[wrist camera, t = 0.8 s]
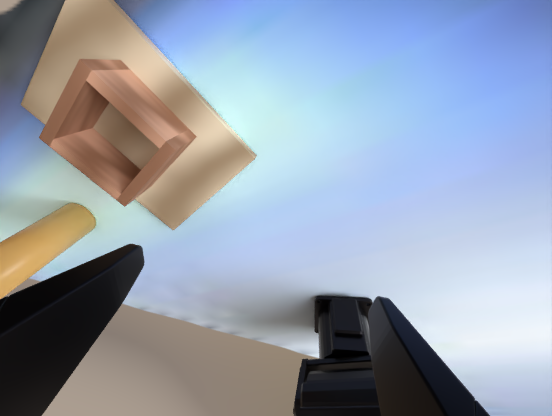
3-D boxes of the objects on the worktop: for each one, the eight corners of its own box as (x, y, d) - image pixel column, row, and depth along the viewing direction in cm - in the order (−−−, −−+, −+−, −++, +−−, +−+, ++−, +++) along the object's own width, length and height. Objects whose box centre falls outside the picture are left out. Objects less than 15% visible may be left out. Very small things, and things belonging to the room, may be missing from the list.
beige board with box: (256, 155, 21) (244, 176, 17) (176, 226, 26) (153, 254, 22) (88, -27, 16) (18, -56, 12) (30, 103, 21) (-33, 111, 17)
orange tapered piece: (101, 231, 28) (-86, 379, 15) (73, 230, 28) (-132, 373, 15) (86, 203, 26) (-142, 343, 13) (57, 203, 26) (-192, 338, 13)
